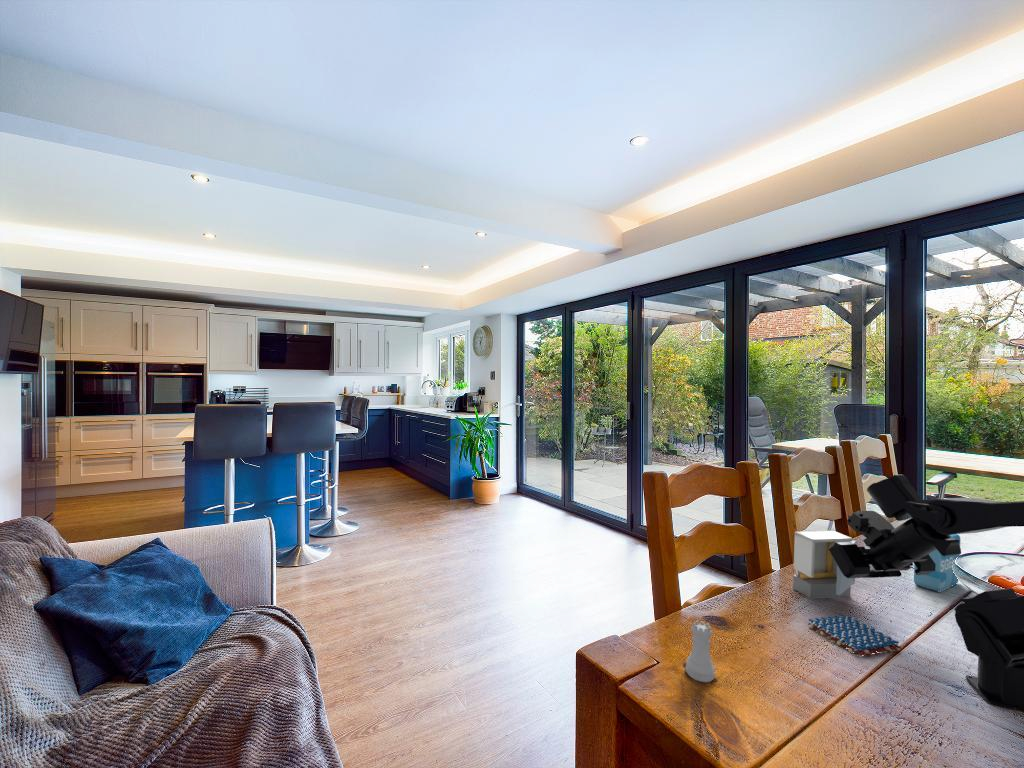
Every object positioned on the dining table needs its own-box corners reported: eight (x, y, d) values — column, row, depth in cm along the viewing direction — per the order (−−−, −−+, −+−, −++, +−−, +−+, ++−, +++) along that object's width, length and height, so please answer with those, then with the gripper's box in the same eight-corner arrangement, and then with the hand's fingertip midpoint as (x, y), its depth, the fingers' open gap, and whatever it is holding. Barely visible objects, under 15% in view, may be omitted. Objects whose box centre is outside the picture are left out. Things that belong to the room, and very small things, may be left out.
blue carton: (937, 594, 104) (939, 541, 104) (913, 585, 108) (915, 535, 108) (959, 583, 110) (961, 533, 110) (934, 576, 114) (936, 528, 114)
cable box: (850, 596, 102) (852, 538, 101) (810, 598, 100) (812, 539, 100) (831, 586, 107) (833, 530, 106) (792, 588, 105) (794, 531, 105)
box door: (854, 582, 101) (856, 541, 101) (839, 595, 95) (841, 551, 94) (851, 581, 101) (853, 540, 101) (836, 594, 95) (837, 550, 95)
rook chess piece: (690, 662, 76) (692, 614, 76) (718, 673, 74) (720, 624, 73) (681, 675, 73) (682, 625, 73) (710, 688, 70) (712, 636, 70)
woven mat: (859, 661, 79) (859, 650, 79) (805, 628, 89) (805, 618, 89) (904, 653, 81) (905, 642, 81) (846, 622, 92) (847, 612, 91)
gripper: (922, 500, 90) (868, 536, 101) (839, 502, 87) (792, 538, 98) (966, 556, 82) (902, 588, 94) (876, 560, 80) (821, 592, 91)
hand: (853, 575), depth 94 cm, fingers closed
